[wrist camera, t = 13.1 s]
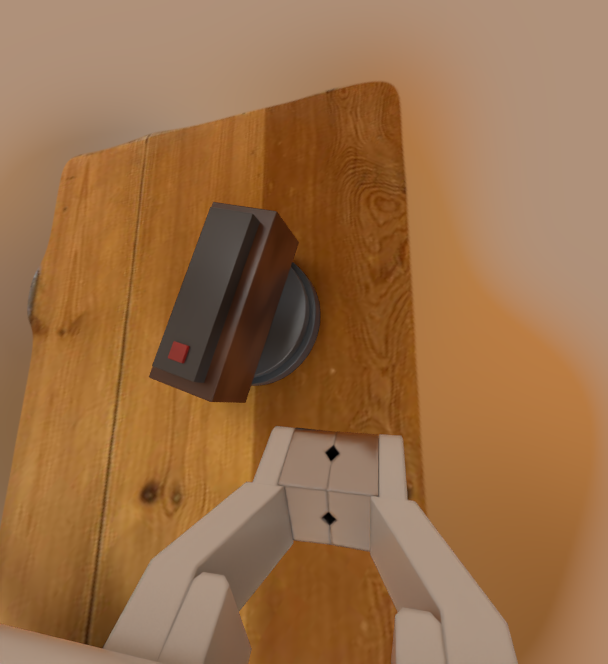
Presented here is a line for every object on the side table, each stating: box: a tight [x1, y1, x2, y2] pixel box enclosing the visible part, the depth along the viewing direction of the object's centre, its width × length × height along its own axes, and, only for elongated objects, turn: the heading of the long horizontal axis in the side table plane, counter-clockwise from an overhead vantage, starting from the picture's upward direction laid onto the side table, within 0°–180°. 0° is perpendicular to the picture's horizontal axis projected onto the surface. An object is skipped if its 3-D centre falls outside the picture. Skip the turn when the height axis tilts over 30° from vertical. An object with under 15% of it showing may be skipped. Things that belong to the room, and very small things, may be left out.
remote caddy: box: [149, 202, 309, 403], centre depth 27 cm, size 14×11×8 cm
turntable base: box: [251, 262, 320, 386], centre depth 31 cm, size 12×12×2 cm
